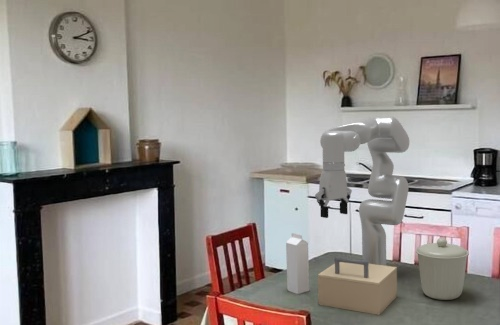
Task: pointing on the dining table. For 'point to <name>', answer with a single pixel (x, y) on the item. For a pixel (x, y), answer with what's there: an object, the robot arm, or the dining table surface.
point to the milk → (297, 264)
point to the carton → (357, 294)
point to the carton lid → (357, 271)
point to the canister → (442, 269)
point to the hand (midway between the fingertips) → (334, 215)
